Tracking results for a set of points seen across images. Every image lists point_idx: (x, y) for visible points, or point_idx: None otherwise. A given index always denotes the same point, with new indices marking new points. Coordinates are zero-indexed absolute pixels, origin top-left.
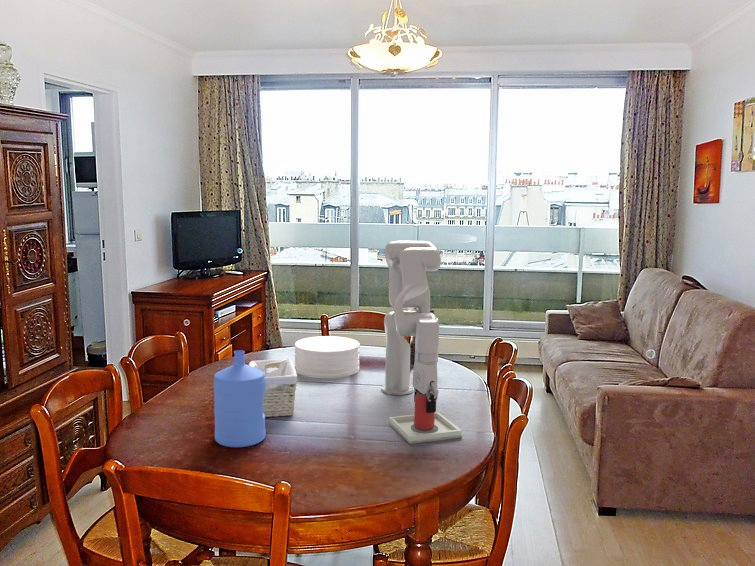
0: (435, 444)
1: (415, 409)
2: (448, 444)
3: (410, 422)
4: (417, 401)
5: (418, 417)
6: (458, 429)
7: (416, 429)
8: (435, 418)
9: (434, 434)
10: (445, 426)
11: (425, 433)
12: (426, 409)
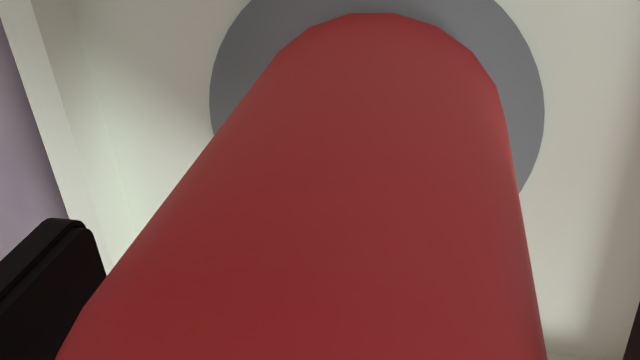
0: (4, 64)
1: (325, 121)
2: (12, 169)
3: (635, 42)
4: (178, 251)
5: (260, 89)
6: None
7: (339, 13)
8: (603, 343)
9: (40, 117)
10: None
11: (213, 70)
12: (23, 252)
